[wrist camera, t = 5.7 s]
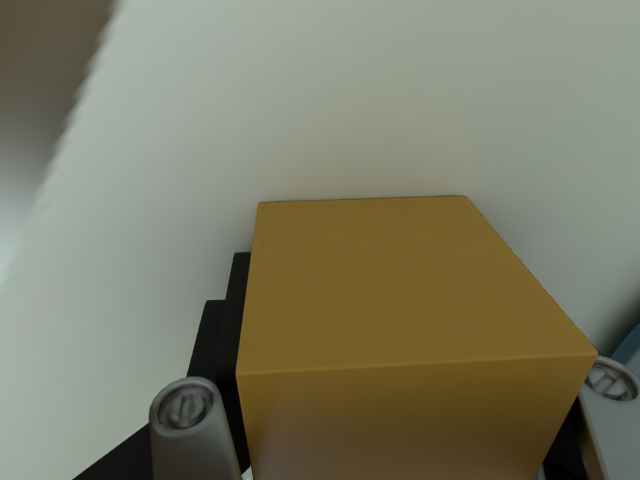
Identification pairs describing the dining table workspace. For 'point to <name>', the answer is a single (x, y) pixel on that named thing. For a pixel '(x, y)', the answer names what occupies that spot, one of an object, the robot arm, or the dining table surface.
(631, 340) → the lid
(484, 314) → the block
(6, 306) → the dining table surface
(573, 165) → the dining table surface
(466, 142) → the dining table surface
